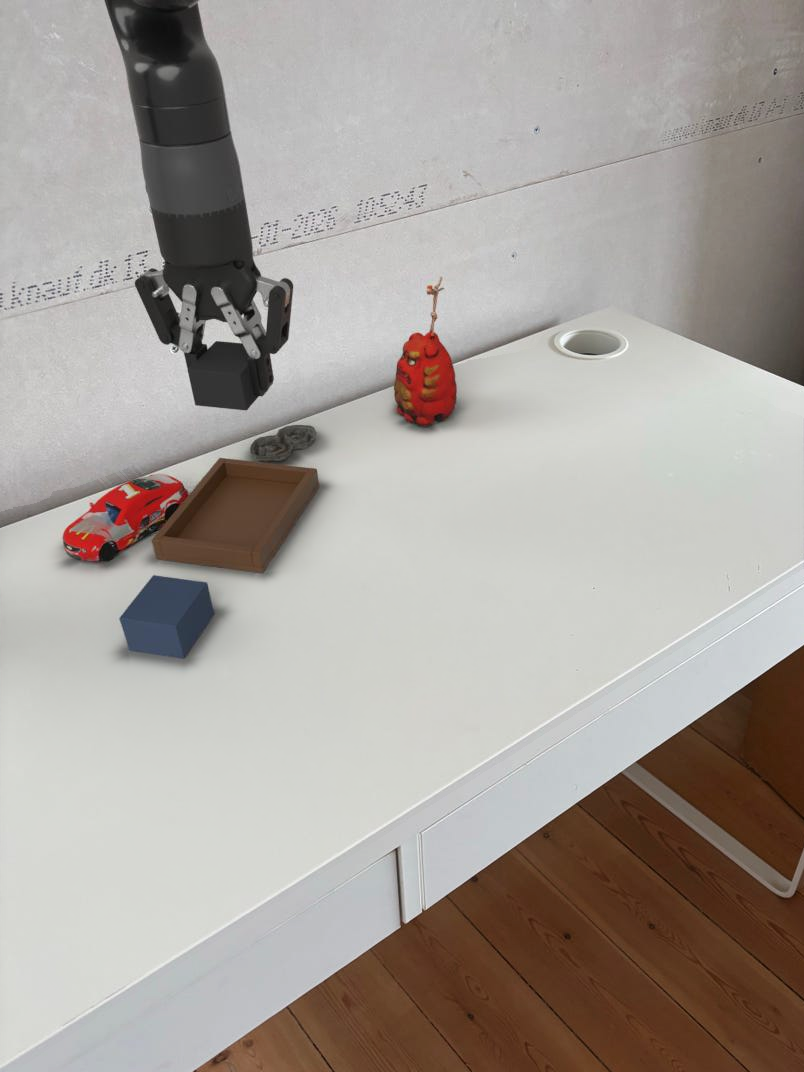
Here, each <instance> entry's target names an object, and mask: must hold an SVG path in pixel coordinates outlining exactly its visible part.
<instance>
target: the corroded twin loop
mask: <svg viewBox="0 0 804 1072" xmlns="http://www.w3.org/2000/svg"><path fill="white" fill-rule="evenodd" d="M293 436H296V438H297V439H296V438H294V437H293ZM316 436H317V431H316V429H315V426H312V425H306V424H292V425H286V426H284V427H281V428H280V429H278V431H277V433H276V434H275V435H266V436H259V437H258V438H255V439H254V440H253V442H252V443H251V444H250V447H249V451H250V454H251V455H252V456H254V457H255V459H256V460H257V461H258V462H267V463H270V462H272V461H273V462H283V461H285V460H286V459H287V458H290V457H291V456H292V451H293V450H296V451H297V450H302V449H308V448H310V447H311V445H312V444H313V442H314V439H315V438H316ZM275 446H277V447H279V448H280V449H278V450H276V449H277V448H276V447H275ZM275 450H276V451H275Z"/></svg>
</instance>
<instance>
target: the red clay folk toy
mask: <svg viewBox="0 0 804 1072" xmlns="http://www.w3.org/2000/svg"><path fill="white" fill-rule="evenodd" d="M442 281H443V276H440V277H439V280H438V283H437V284H436V285H434V286H433V285H432V284H429V285H427V286H426V291H425V292H426V294H427V295H428V296H430V295H431V296H433V297H432V303H433V304H432V312H430V317H431V323H430V327H429V331H428V332H427V333H426V334H424V335H423V333H420V332H413V333H411V334H410V335H409V338H408V340H407V341H405V342H404V343H403V346H402V354H401V356H400V358H399V359H398V360H397V362H396V370H395V380H394V382H393V390H394V392H393V393H394V394H393V395H394V401H395V403H396V404H397V405H396V413H397V414H399V415H400V416H403V417H404V420H405V421H407V422H408V423H410V424H413V425H415V426H417V427H424V428H429V427H432V425H433V424H435V423H436V422H437V423H441V422H443V421H445V420H447V419H448V418H449V417H450V416H451V415H452V413H453V411H454V410H455V406H456V404H457V398H458V397H457V392H458V391H457V388H458V387H457V381H456V372H455V368H454V365H453V360H452V358H451V355H450V353H449V351H448V349H446V346H445V345H444V344H443V343H442V341H441V340H440V338H439V336H438V335H439V334H438V333H436V332H435V322H436V321H437V319H439V318H438V314H437V312H436V309H437V304H438V297H439V292H441V291H443V290H445V288H444V287H440V286H441V284H442ZM439 287H440V288H439Z"/></svg>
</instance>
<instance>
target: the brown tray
mask: <svg viewBox="0 0 804 1072" xmlns="http://www.w3.org/2000/svg"><path fill="white" fill-rule="evenodd" d="M319 489H320V482H319V474H318V468H314V467H305V466H297V465H288V464H278V463H271V462H263V461H253V460H252V461H251V460H244V459H235V458H225V457H218V459H217V460H216V461H215V463H214V464H213V465H212V466H211V467H210V469H209V470H208V471H207V472H206V473H205V475H204V476H203V477H202V479H200V480H199V482H198V483H197V484H196V486H195V487H194V488H193V489H192V491H190V493H188V496H187V498H186V499H185V500H184V501H183V502H182V504H181V505H180V506H179V507H178V508H177V510H176V511H175V512H174V513H173V514H172V516H171V517H170V518H169V519H168V520H167V521H165V522H166V523H165V524H164V525H162V526H161V527H160V529H159V530H158V531H157V533H156V534H155V535H154V536H153V537H152V538H151V543H152V547H153V552H154V554H155V555H154V556H155V559H156V560H161V561H169V562H175V563H183V564H190V565H191V564H192V565H197V566H205V567H206V566H207V567H213V568H221V569H229V570H234V571H235V570H236V571H243V572H249V573H259V574H263V573H264V572H265V571H266V569H267V568H268V567H269V565H270V563H271V562H272V560H273V558H274V557H275V555H276V554H277V553H278V551H279V549H280V548H281V546H282V545H283V543H284V542H285V540H286V539H287V538H288V536H289V534H290V533H291V531H292V530H293V528H294V527H295V525H296V523H297V522H298V521H299V519H300V517H301V516H302V514H303V513H304V512H305V510H306V509H307V507H308V506H309V504H310V502H311V501H312V499H313V498H314V496H315V495H316V493H317V492H318V491H319Z"/></svg>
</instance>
